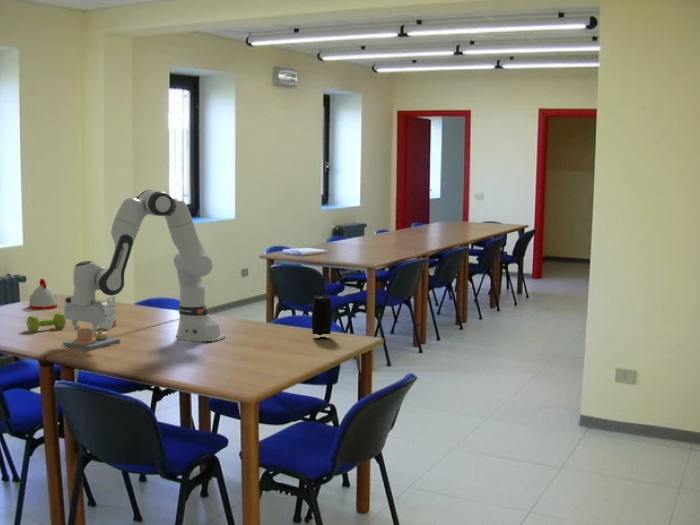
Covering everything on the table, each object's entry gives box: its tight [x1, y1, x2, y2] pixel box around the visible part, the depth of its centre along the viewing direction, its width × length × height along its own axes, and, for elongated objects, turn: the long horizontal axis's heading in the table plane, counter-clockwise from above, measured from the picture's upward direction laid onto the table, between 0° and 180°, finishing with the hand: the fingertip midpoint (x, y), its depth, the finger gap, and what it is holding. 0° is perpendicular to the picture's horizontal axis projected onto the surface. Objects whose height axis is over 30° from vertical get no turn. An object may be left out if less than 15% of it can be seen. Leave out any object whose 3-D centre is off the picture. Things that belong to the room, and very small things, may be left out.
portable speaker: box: [311, 294, 333, 335], centre depth 379 cm, size 9×9×20 cm
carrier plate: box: [62, 330, 121, 351], centre depth 352 cm, size 15×18×6 cm
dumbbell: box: [26, 312, 67, 333], centre depth 378 cm, size 16×8×7 cm, turn 131°
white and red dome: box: [28, 278, 58, 311], centre depth 432 cm, size 14×14×15 cm
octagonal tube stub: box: [73, 327, 96, 345], centre depth 348 cm, size 9×9×6 cm
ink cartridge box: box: [98, 295, 117, 330], centre depth 387 cm, size 9×5×15 cm, turn 168°
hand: (84, 331), depth 348 cm, fingers open, 8 cm apart
